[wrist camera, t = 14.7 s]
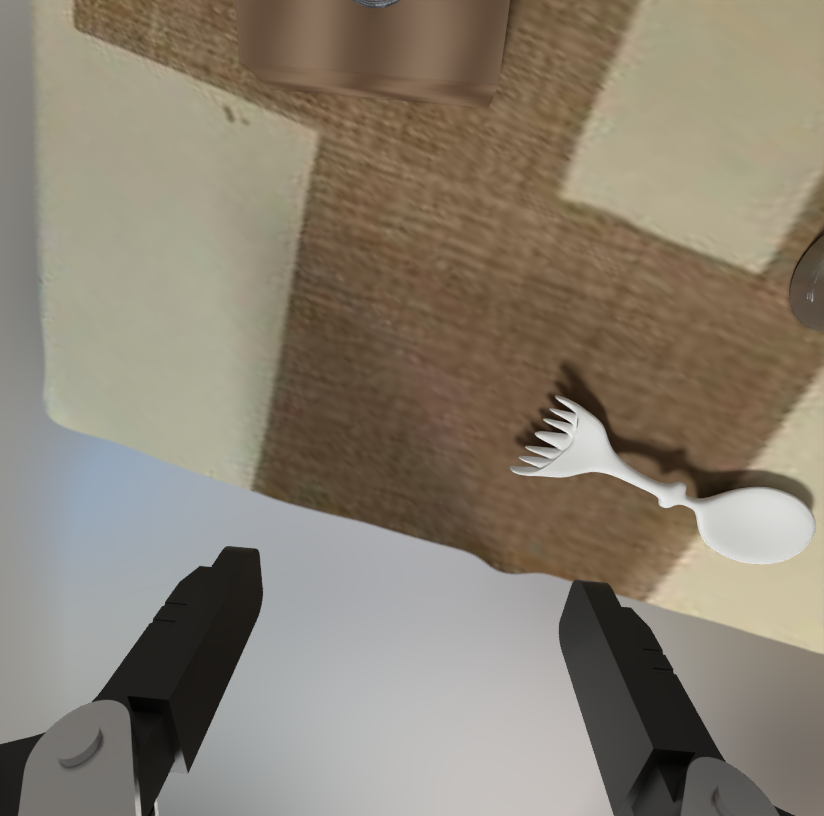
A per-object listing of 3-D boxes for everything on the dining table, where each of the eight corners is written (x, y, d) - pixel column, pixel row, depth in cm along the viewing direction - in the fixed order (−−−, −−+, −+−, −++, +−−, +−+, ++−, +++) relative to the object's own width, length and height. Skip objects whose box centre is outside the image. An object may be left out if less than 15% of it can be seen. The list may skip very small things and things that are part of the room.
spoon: (549, 381, 38) (560, 394, 34) (817, 502, 42) (849, 524, 39) (502, 456, 41) (508, 475, 38) (754, 561, 45) (778, 586, 42)
